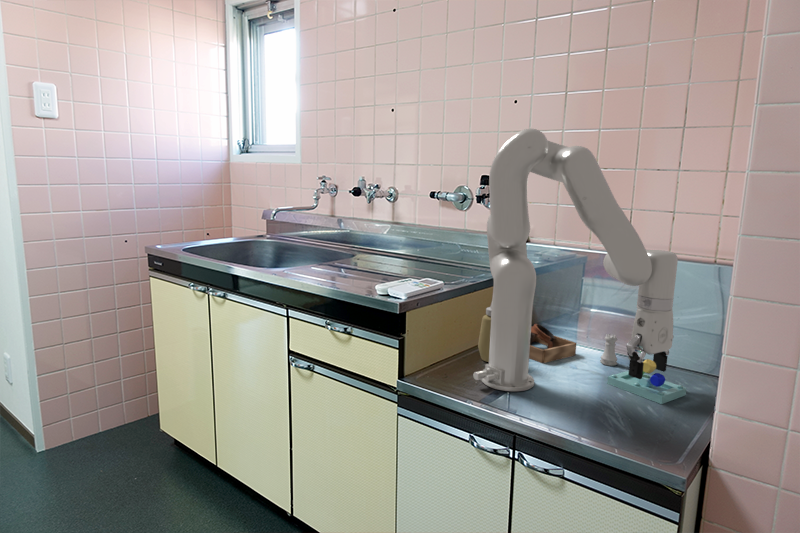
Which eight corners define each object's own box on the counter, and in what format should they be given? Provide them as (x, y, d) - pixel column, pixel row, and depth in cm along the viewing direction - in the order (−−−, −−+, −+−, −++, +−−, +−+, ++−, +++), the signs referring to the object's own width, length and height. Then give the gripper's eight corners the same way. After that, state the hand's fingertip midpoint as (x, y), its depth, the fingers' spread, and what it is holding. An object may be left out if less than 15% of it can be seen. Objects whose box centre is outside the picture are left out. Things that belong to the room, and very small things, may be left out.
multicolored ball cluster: (665, 390, 126) (668, 364, 125) (658, 392, 124) (661, 366, 123) (634, 379, 132) (637, 354, 131) (628, 381, 131) (630, 355, 130)
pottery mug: (524, 342, 165) (540, 321, 162) (547, 363, 159) (563, 341, 157) (505, 341, 156) (521, 318, 153) (528, 362, 150) (545, 340, 148)
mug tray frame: (542, 363, 145) (543, 351, 144) (500, 347, 158) (501, 335, 158) (576, 355, 153) (577, 343, 152) (534, 340, 166) (534, 329, 165)
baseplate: (661, 404, 120) (662, 394, 120) (607, 383, 132) (608, 374, 131) (685, 395, 126) (686, 386, 125) (631, 376, 137) (632, 367, 137)
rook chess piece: (618, 367, 144) (621, 338, 142) (601, 365, 145) (603, 336, 143) (615, 361, 148) (618, 333, 147) (598, 360, 149) (601, 332, 148)
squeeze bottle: (507, 366, 142) (511, 299, 139) (476, 363, 144) (480, 298, 141) (506, 356, 150) (510, 293, 147) (477, 354, 151) (480, 291, 148)
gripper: (648, 311, 117) (640, 385, 120) (690, 302, 127) (682, 371, 130) (617, 304, 124) (611, 375, 126) (660, 296, 133) (653, 362, 136)
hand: (647, 373), depth 128 cm, fingers open, 9 cm apart
